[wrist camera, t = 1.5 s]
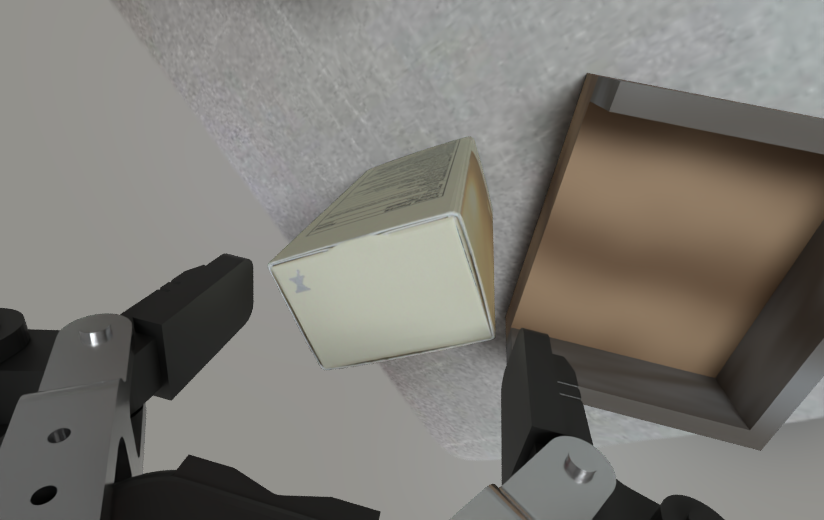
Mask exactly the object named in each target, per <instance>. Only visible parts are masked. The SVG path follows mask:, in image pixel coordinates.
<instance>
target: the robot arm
mask: <svg viewBox="0 0 824 520" xmlns="http://www.w3.org/2000/svg"><path fill="white" fill-rule="evenodd" d="M252 309H253V264H252V261H251V260H249V259H246V258H242V257H238V256H234V255H230V254H222V255H221V256H219V257H218V258H216V259H215V260H213V261H212V262H211V263H209V264H208V265H206V266H205V265H202V266H199V267H196V268H193V269H190V270H187V271H185V272H183V273H182V274H180V275H179V276H177V277H176V278H174V279H173V280H172V281H171V282H168V283H167V284H165V285H164V286H162V287H161V288H160V290H156V291H155V292H153V293H152V294H150V295H149V296H147V297H146V298H144V299H143V300H141V301H140V302H138V303H137V304H135V305H134V306H132V307H131V308H129V309H128V310H126V311H125V312H123V313H122V314H120V315H118V314H95V315H90V316H86V317H83V318H80V319H77V320H75V321H73V322H71V323H69V324H68V325H66V326H65V327H63V328H62V329H61V330H30V329H27V325H26V322H25V319H24V316H23V314H22V313H20V312H19V311H16V310H13V309H7V308H6V309H5V308H0V520H379V516H380V511H376V510H373V509H370V508H367V507H363V506H360V505H357V504H353V503H350V502H346V501H343V500H340V499H336V498H333V497H313V496H283V495H276V494H274V493H272V492H270V491H269V490H267V489H266V488H264V487H262V486H261V485H259V484H258V483H256V482H255V481H253V480H252V479H250V478H249V477H247V476H246V475H244V474H243V473H241V472H240V471H238V470H236V469H235V468H232V467H229V466H226V465H222V464H219V463H215V462H212V461H209V460H205V459H202V458H199V457H195V456H192V455H188V456H187V457H186V459H185V460H184V461H183V463H182V464H181V465H180V466H179V468H178V469H177V470H165V471H156V472H150V473H145V474H143V460H144V443H145V426H146V405H145V402H146V401H147V400H149V399H150V398H151V397H152V396H153V395H154V396H157V397H161V398H164V399H168V400H172V399H173V398H174V397H175V396H176V395H177V394H178V393H179V392H180V391H181V390H182V389H183V388H184V387H185V386H186V385H187V384H188V382H190V381H191V380H192V379H193V378H194V377H195V375H196V374H197V373H198V372H199V371H200V370H201V369H202V368H203V367H204V366H205V365H206V364H207V363H208V362H209V361H210V360H211V359H212V358H213V357H214V356H215V355H216V354H217V353H218V352H219V351H220V350H221V348H223V346H224V345H225V344H226V343H227V342H228V341H229V340H230V339H231V338H232V337H233V336H234V335H235V334H236V333H237V332H238V331H239V330H240V329H241V328H242V327H243V326H244V325H245V324H246V322H247V321H248V319H249V317H250V315H251V313H252ZM501 432H502V486H501V487H499V488H498V487H497V486H496V485H495V484H491V485H489V486H487V487H486V488H485V489H483V490H482V491H481V492H480V493H479V494H478V495H477V496H475V497H474V498H473V499H472V500H471V501H470V502H469V503H468V504H466V505H465V506H464V507H463V508H462V509H461V510H460V511H458V512H457V513H456V514H455V515H454V516H453V517H452V518H451V519H449V520H724V519H723V518H722V517H721V516H720V515H719V514H718V513H716V512H715V511H714V510H712V509H711V508H710V507H708V506H707V505H705V504H703V503H702V502H700V501H698V500H695V499H693V498H691V497H687V496H683V495H671V496H668V497H667V498H665V499H664V500H663V502H662V503H661V505H659V504H657V503H656V502H654V501H652V500H650V499H648V498H647V497H645V496H643V495H641V494H639V493H637V492H636V491H634V490H632V489H630V488H629V487H627V486H625V485H623V484H622V483H621V482H620V481H618V480H617V479H616V476H615V472H614V470H613V467H612V466H611V464H610V462H609V461H608V460H607V458H606V457H605V456H604V455H603V454H602V453H601V452H600V451H599V450H598V449H597V448H595V447H594V446H593V443H592V439H591V435H590V431H589V427H588V422H587V418H586V414H585V410H584V406H583V402H582V401H581V394H580V390H579V389H578V381H577V377H576V373H575V371H574V369H573V368H572V367H571V365H570V364H569V362H568V361H567V360H566V358H565V357H564V356H560V355H556V354H552V349H551V343H550V338H549V335H548V334H546V333H542V332H538V331H534V330H530V329H526V328H521V329H520V330H519V332H518V335H517V337H516V340H515V343H514V346H513V349H512V352H511V355H510V357H509V360H508V363H507V366H506V369H505V372H504V376H503V381H502V388H501Z"/></svg>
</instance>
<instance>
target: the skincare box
mask: <svg viewBox="0 0 824 520" xmlns="http://www.w3.org/2000/svg"><path fill="white" fill-rule="evenodd" d="M268 269H269V271H270V273H271V275H272V277H273V279H274V281H275V282H276V284H277V287H278V289H279V291H280V293H281V295H282V297H283V298H284V300H285V303H286V305H287V307H288V309H289V310H290V312H291V314H292V316H293V318H294V320H295V322H296V324H297V326H298V328H299V330H300V332H301V334H302V335H303V337H304V339H305V341H306V343H307V345H308V346H309V348H310V350H311V352H312V353H313V355H314V356H315V358H316V359H317V362H318V364H319V366H320V367H321V369H323V370H331V369H341V368H346V367H354V366H360V365H367V364H374V363H378V362H384V361H390V360H395V359H401V358H406V357H411V356H416V355H421V354H426V353H432V352H436V351H442V350H447V349H451V348H455V347H460V346H465V345H469V344H473V343H478V342H483V341H488V340H492V339H494V338H495V306H494V256H493V211H492V205H491V200H490V196H489V192H488V188H487V184H486V180H485V177H484V173H483V169H482V165H481V161H480V158H479V155H478V151H477V147H476V144H475V141H474V139H473V138H472V137H465V138H462V139H458V140H455V141H451V142H448V143H445V144H441V145H438V146H435V147H432V148H429V149H425V150H422V151H420V152H417V153H414V154H411V155H408V156H405V157H402V158H399V159H396V160H393V161H390V162H388V163H385V164H382V165H380V166H377V167H374V168H372V169H369V170H368V171H366V172H365V173H364V174H363V175H362V176H361V177H360V178H359V179H358V180H357V181H356V182H355V183H354V184H353V185H352V186H351V187H350V188H349V189H347V190H346V191H345V192H344V193H343V194H342V195H341V196H340V197H339V198H338V199H337V200H336V201H335V202H333V203H332V204H331V205H330V206H329V207H328V208H327V209H326V210H325V211H324V212H323V213H322V214H321V215H319V216H318V217H317V218H316V219H315V220H314V221H313V222H312V223H311V224H310V225H309V226H308V227H307V228H306V229H304V230H303V231H302V232H301V233H300V234H299V235H298V236H297V237H296V238H295V239H294V240H293V241H292V242H291V243H289V244H288V245H287V246H286V247H285V248H284V249H283V250H282V251H281V252H280V253H279V254H278V255H277V256H276V257H275V258H274V259H272V260H271V261H270V263H268Z"/></svg>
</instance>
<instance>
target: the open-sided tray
mask: <svg viewBox="0 0 824 520" xmlns="http://www.w3.org/2000/svg"><path fill="white" fill-rule="evenodd" d="M521 328H526V329H530V330H534V331H538V332H542V333H546V334H548V335H549V338H550V343H551V349H552V354H556V355H560V356H564V357H565V358H566V360H567V361H568V362H569V364H570V365H571V367H572V368H573V369H574V371H575V373H576V377H577V381H578V389H579V390H580V394H581V401H582V402H583V404H584V405H587V406H591V407H595V408H599V409H603V410H607V411H610V412H614V413H618V414H622V415H626V416H630V417H633V418H637V419H641V420H645V421H649V422H653V423H657V424H660V425H664V426H668V427H672V428H676V429H680V430H683V431H687V432H691V433H695V434H699V435H703V436H706V437H711V438H714V439H718V440H722V441H726V442H729V443H733V444H737V445H741V446H745V447H749V448H753V449H756V450H760V451H761V450H762V449H763V447H764V446H765V445H766V444H767V443H768V441H769V440H770V439H771V438H772V437H773V435H774V434H775V433H776V432H777V431H778V430H779V428H780V427H781V426H782V425H783V424H784V423H785V421H786V420H787V419H788V418H789V417H790V415H791V414H792V413H793V412H794V411H795V409H796V408H797V407H798V406H799V405H800V404H801V402H802V401H803V400H804V399H805V398H806V396H807V395H808V394H809V393H810V392H811V390H812V389H813V388H814V387H815V386H816V385H817V383H818V382H819V381H820V380H821V379H822V377H823V376H824V119H823V118H818V117H812V116H807V115H802V114H797V113H792V112H786V111H781V110H776V109H771V108H766V107H761V106H755V105H750V104H745V103H740V102H735V101H729V100H724V99H719V98H714V97H709V96H704V95H698V94H693V93H688V92H683V91H678V90H672V89H667V88H662V87H657V86H652V85H647V84H641V83H636V82H631V81H626V80H621V79H615V78H610V77H605V76H600V75H595V74H590V73H587V76H586V79H585V82H584V85H583V88H582V91H581V94H580V97H579V100H578V103H577V106H576V109H575V112H574V114H573V117H572V120H571V123H570V126H569V129H568V132H567V135H566V138H565V141H564V144H563V147H562V150H561V153H560V156H559V159H558V162H557V165H556V168H555V171H554V174H553V177H552V180H551V183H550V186H549V189H548V192H547V195H546V198H545V201H544V204H543V207H542V210H541V213H540V216H539V219H538V222H537V225H536V228H535V231H534V234H533V236H532V239H531V242H530V245H529V248H528V251H527V254H526V257H525V260H524V263H523V266H522V269H521V272H520V275H519V278H518V281H517V284H516V287H515V290H514V293H513V296H512V299H511V302H510V305H509V308H508V311H507V314H506V356H507V363H508V360H509V357H510V355H511V352H512V349H513V346H514V343H515V340H516V337H517V335H518V332H519V330H520V329H521Z"/></svg>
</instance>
